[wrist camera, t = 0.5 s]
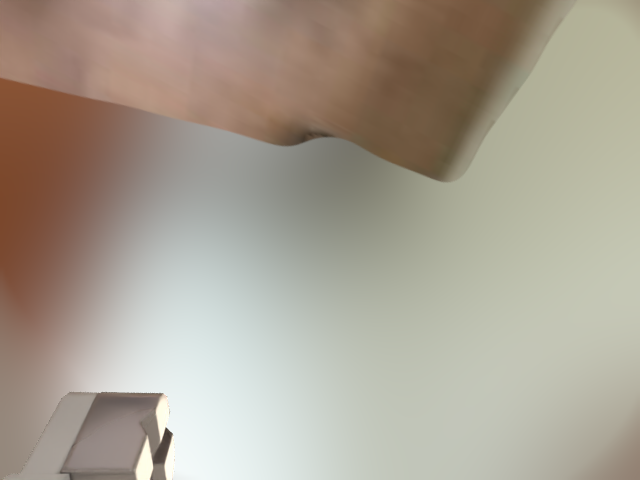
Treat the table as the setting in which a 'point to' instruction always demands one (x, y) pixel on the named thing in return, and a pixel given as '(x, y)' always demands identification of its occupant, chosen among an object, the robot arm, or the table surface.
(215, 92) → the table surface
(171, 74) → the table surface
